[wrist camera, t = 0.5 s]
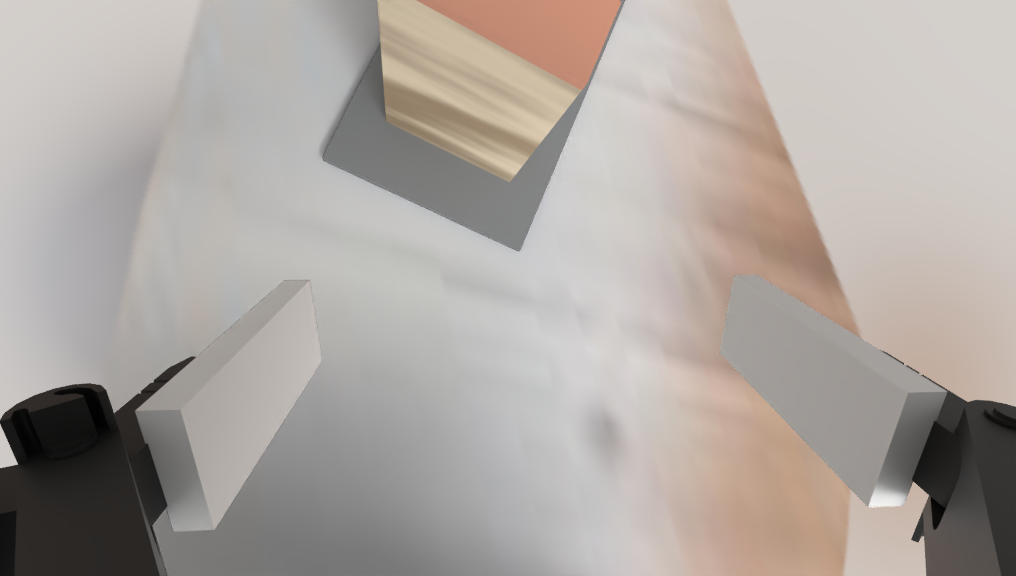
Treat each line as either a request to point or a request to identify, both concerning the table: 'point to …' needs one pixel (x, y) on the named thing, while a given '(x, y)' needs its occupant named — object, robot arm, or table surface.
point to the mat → (445, 165)
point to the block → (488, 71)
